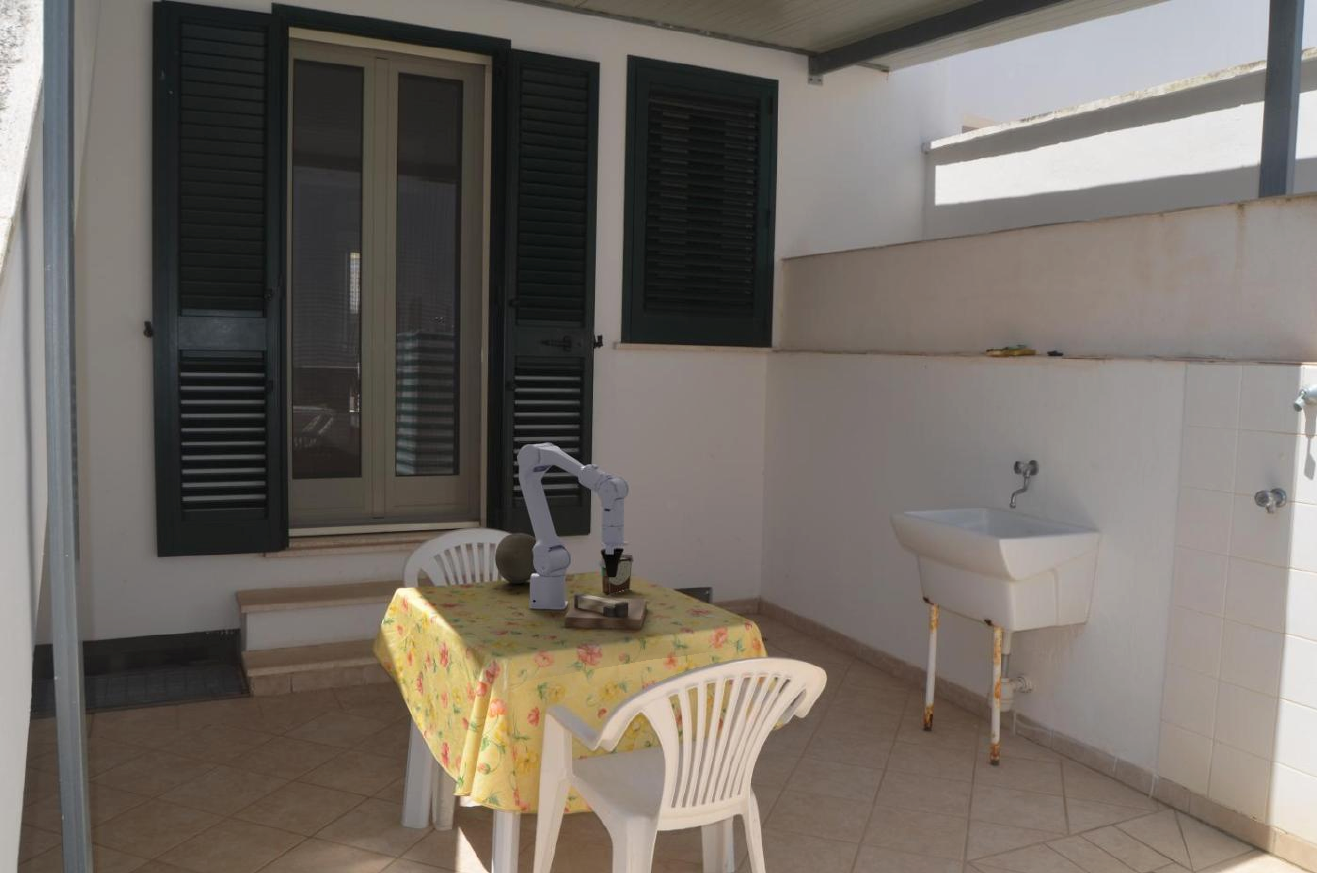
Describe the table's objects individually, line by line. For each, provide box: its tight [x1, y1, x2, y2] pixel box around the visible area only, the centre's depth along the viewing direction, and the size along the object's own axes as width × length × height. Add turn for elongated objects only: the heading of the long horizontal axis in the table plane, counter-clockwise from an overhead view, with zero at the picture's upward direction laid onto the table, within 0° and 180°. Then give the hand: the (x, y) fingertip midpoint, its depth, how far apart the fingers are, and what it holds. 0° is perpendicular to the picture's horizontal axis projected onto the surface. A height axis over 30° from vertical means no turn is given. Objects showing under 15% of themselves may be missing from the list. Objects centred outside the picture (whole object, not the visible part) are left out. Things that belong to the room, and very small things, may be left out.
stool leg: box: [573, 593, 628, 618], centre depth 271 cm, size 17×3×3 cm, turn 51°
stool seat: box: [564, 597, 648, 630], centre depth 275 cm, size 19×22×5 cm
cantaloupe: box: [494, 532, 538, 585], centre depth 312 cm, size 14×14×15 cm
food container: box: [598, 553, 634, 596], centre depth 306 cm, size 12×6×10 cm, turn 144°
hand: (611, 576), depth 276 cm, fingers closed
